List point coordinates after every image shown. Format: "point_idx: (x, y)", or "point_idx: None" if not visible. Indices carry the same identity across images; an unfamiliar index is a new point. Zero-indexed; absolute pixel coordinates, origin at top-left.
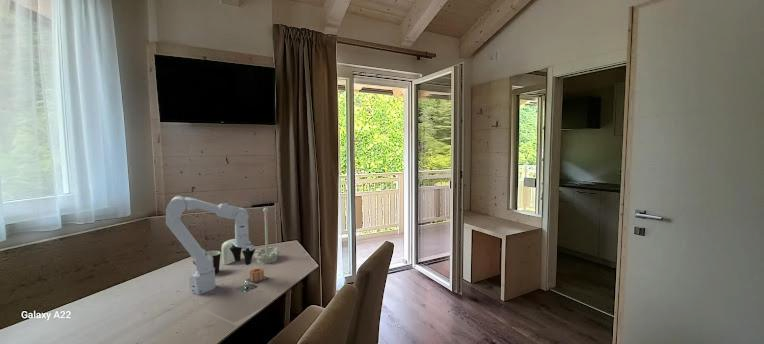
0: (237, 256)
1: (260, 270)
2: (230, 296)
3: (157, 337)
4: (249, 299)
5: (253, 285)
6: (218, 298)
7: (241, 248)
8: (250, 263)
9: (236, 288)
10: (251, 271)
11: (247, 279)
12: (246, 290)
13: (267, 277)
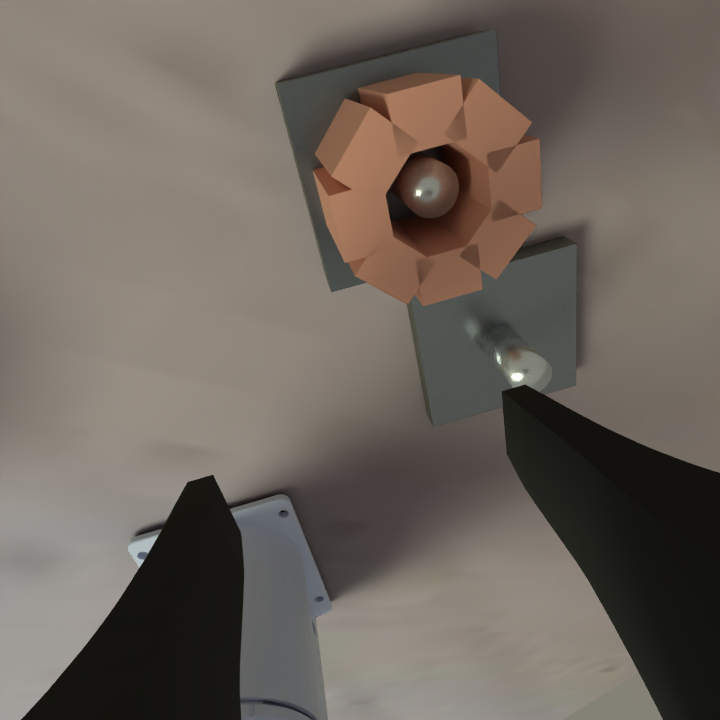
0: (222, 599)
1: (494, 158)
2: (489, 458)
3: (576, 710)
4: (659, 372)
5: (512, 274)
6: (447, 521)
7: (138, 712)
8: (535, 392)
9: (437, 413)
10: (416, 282)
11: (338, 278)
12: (551, 362)
13: (486, 41)
